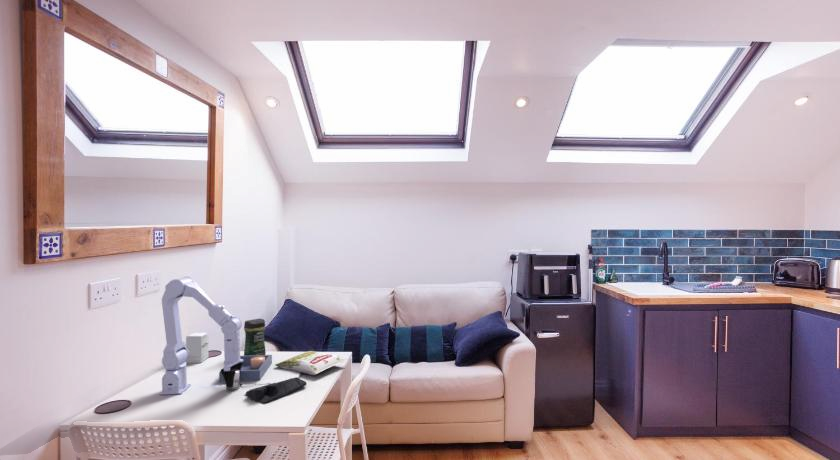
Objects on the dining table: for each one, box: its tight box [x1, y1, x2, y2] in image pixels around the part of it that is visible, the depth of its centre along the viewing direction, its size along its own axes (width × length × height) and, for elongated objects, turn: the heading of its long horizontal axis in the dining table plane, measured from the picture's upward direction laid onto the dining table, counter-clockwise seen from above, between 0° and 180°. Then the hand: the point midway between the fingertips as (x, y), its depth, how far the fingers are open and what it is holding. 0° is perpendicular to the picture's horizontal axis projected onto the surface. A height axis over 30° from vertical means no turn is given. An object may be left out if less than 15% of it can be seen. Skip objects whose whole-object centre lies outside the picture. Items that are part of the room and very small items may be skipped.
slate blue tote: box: [218, 354, 273, 383], centre depth 197 cm, size 22×16×5 cm
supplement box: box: [185, 332, 209, 364], centre depth 217 cm, size 7×7×13 cm
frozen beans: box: [274, 350, 347, 376], centre depth 205 cm, size 21×6×25 cm
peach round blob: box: [251, 356, 265, 370], centre depth 203 cm, size 6×6×4 cm
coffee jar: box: [243, 318, 267, 356], centre depth 221 cm, size 10×8×19 cm
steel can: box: [225, 369, 241, 392], centre depth 180 cm, size 5×5×7 cm
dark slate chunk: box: [244, 376, 307, 404], centre depth 177 cm, size 15×22×5 cm
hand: (232, 383), depth 180 cm, fingers open, 7 cm apart
